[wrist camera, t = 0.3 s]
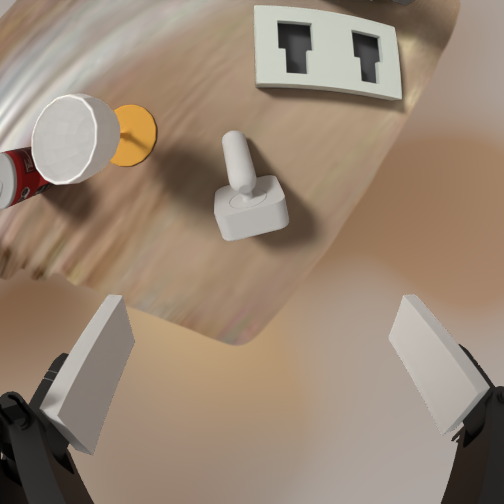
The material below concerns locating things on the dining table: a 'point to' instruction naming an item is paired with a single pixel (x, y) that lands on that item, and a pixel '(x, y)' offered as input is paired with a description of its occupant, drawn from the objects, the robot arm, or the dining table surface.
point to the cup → (89, 138)
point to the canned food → (19, 177)
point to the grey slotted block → (403, 1)
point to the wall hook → (247, 195)
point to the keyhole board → (325, 52)
